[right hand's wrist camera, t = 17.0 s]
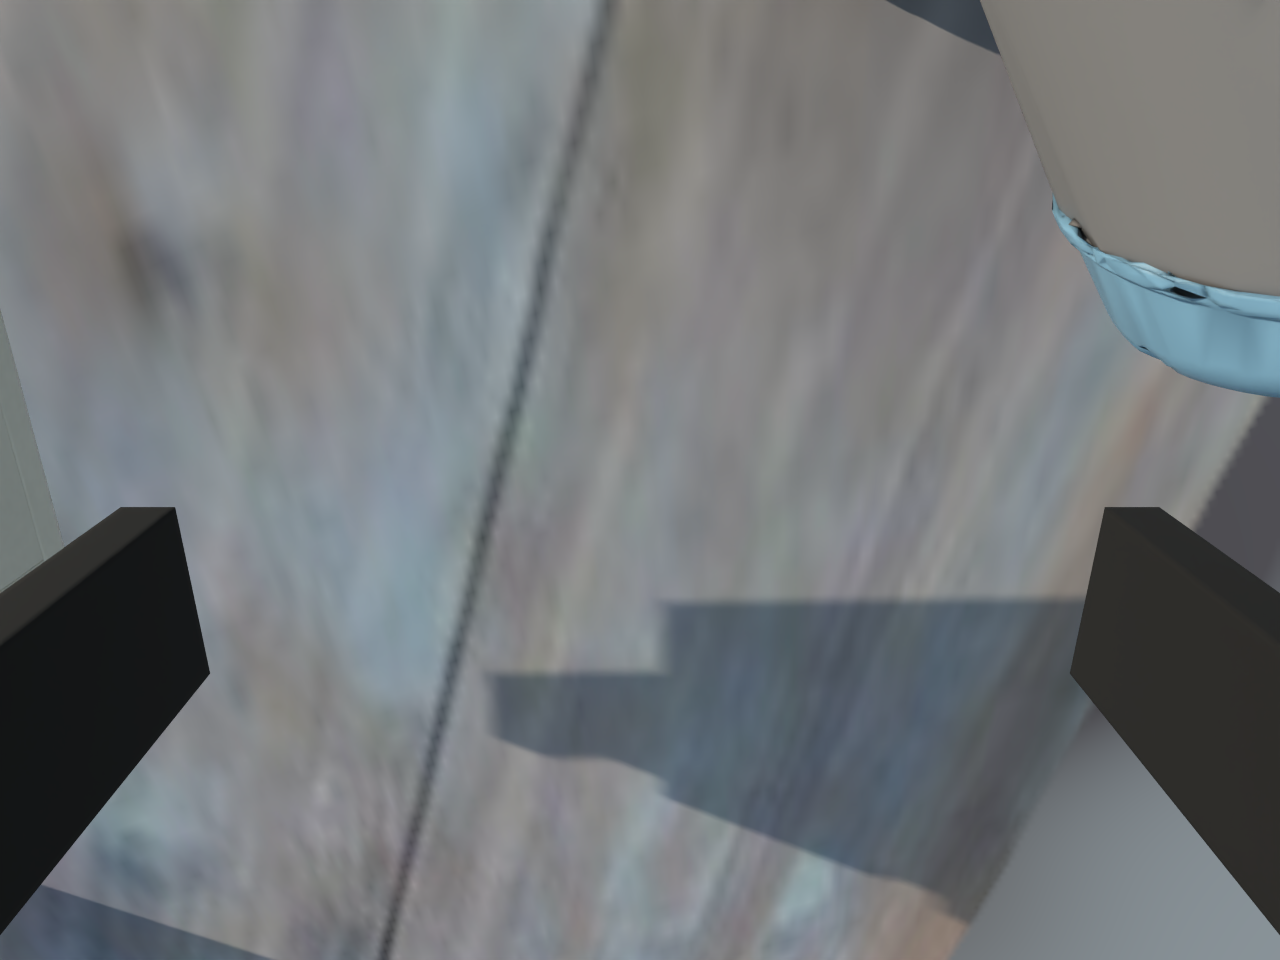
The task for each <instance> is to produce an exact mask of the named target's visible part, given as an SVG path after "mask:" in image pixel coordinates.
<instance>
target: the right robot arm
mask: <svg viewBox="0 0 1280 960" xmlns="http://www.w3.org/2000/svg"><path fill="white" fill-rule="evenodd" d="M980 2H981V4H982V7H983V10H984V12H985V15H986V18H987V20H988V23H989V25H990V28H991V31H992V33H993V36H994V39H995V41H996V44H997V47H998V49H999V52H1000V55H1001V57H1002V60H1003V62H1004V65H1005V68H1006V70H1007V73H1008V76H1009V78H1010V81H1011V84H1012V86H1013V89H1014V92H1015V94H1016V97H1017V99H1018V102H1019V105H1020V107H1021V110H1022V113H1023V115H1024V118H1025V121H1026V123H1027V126H1028V129H1029V131H1030V134H1031V137H1032V139H1033V142H1034V144H1035V147H1036V150H1037V152H1038V155H1039V158H1040V160H1041V163H1042V166H1043V168H1044V171H1045V174H1046V176H1047V179H1048V181H1049V184H1050V187H1051V189H1052V193H1053V203H1052V211H1053V214H1054V217H1055V219H1056V222H1057V224H1058V226H1059V228H1060V230H1061V231H1062V233H1063V234H1064V235H1065V237H1066V238H1067V239H1068V241H1069V242H1070V243H1071V244H1072V245H1073V246H1074V247H1075V248H1077V249H1078V250H1079V251H1080V253H1081V255H1082V257H1083V259H1084V262H1085V264H1086V266H1087V268H1088V270H1089V273H1090V275H1091V277H1092V279H1093V281H1094V284H1095V286H1096V288H1097V290H1098V292H1099V295H1100V297H1101V299H1102V301H1103V303H1104V306H1105V308H1106V310H1107V312H1108V314H1109V316H1110V318H1111V319H1112V321H1113V323H1114V324H1115V326H1116V327H1117V328H1118V329H1119V331H1120V332H1121V333H1122V334H1123V336H1124V337H1125V338H1126V339H1127V340H1128V341H1129V342H1130V343H1131V344H1132V345H1133V346H1134V347H1136V348H1137V349H1138V350H1139V351H1141V352H1143V353H1146V354H1148V355H1150V356H1152V357H1154V358H1157V359H1160V360H1161V361H1162V362H1163V363H1165V364H1166V365H1167V366H1169V367H1171V368H1173V369H1174V370H1175V371H1176V372H1177V373H1180V374H1182V375H1184V376H1187V377H1189V378H1191V379H1195V380H1198V381H1201V382H1204V383H1207V384H1210V385H1214V386H1218V387H1222V388H1226V389H1231V390H1235V391H1240V392H1244V393H1250V394H1256V395H1262V396H1270V397H1278V398H1280V0H980ZM209 674H210V671H209V666H208V661H207V657H206V652H205V647H204V642H203V638H202V633H201V628H200V623H199V619H198V614H197V609H196V604H195V600H194V595H193V590H192V585H191V581H190V576H189V571H188V566H187V562H186V557H185V552H184V547H183V543H182V538H181V533H180V528H179V524H178V519H177V514H176V509H175V507H120V508H119V509H118V510H116V511H115V512H113V513H112V514H111V515H109V516H108V517H106V518H105V519H104V520H102V521H101V522H99V523H98V524H97V525H95V526H94V527H92V528H91V529H90V530H88V531H87V532H85V533H84V534H83V535H81V536H80V537H78V538H77V539H76V540H74V541H73V542H71V543H70V544H69V545H67V546H66V547H64V548H63V549H62V550H60V551H59V552H57V553H56V554H54V555H53V556H52V557H50V558H49V559H47V560H46V561H45V562H43V563H42V564H40V565H39V566H38V567H36V568H35V569H33V570H32V571H31V572H29V573H28V574H26V575H25V576H24V577H22V578H21V579H19V580H18V581H17V582H15V583H14V584H12V585H11V586H10V587H8V588H7V589H5V590H4V591H3V592H1V593H0V935H1V933H2V932H3V931H4V930H5V928H6V927H7V926H8V925H9V923H10V922H11V921H12V920H13V918H14V917H15V916H16V915H17V913H18V912H19V911H20V910H21V908H22V907H23V906H24V905H25V903H26V902H27V901H28V900H29V898H30V897H31V896H32V895H33V893H34V892H35V891H36V890H37V889H38V887H39V886H40V885H41V884H42V882H43V881H44V880H45V879H46V877H47V876H48V875H49V874H50V872H51V871H52V870H53V869H54V867H55V866H56V865H57V864H58V862H59V861H60V860H61V859H62V857H63V856H64V855H65V854H66V852H67V851H68V850H69V849H70V847H71V846H72V845H73V844H74V842H75V841H76V840H77V839H78V837H79V836H80V835H81V834H82V832H83V831H84V830H85V829H86V827H87V826H88V825H89V824H90V822H91V821H92V820H93V819H94V817H95V816H96V815H97V814H98V812H99V811H100V810H101V809H102V807H103V806H104V805H105V804H106V802H107V801H108V800H109V799H110V798H111V796H112V795H113V794H114V793H115V791H116V790H117V789H118V788H119V786H120V785H121V784H122V783H123V781H124V780H125V779H126V778H127V776H128V775H129V774H130V773H131V771H132V770H133V769H134V768H135V766H136V765H137V764H138V763H139V761H140V760H141V759H142V758H143V756H144V755H145V754H146V753H147V751H148V750H149V749H150V748H151V746H152V745H153V744H154V743H155V741H156V740H157V739H158V738H159V736H160V735H161V734H162V733H163V731H164V730H165V729H166V728H167V726H168V725H169V724H170V723H171V721H172V720H173V719H174V718H175V716H176V715H177V714H178V713H179V712H180V710H181V709H182V708H183V707H184V705H185V704H186V703H187V702H188V700H189V699H190V698H191V697H192V695H193V694H194V693H195V692H196V690H197V689H198V688H199V687H200V685H201V684H202V683H203V682H204V680H205V679H206V678H207V677H208V675H209ZM1070 674H1071V675H1072V677H1073V678H1074V679H1075V680H1076V682H1077V683H1078V684H1079V685H1080V687H1081V688H1082V689H1083V690H1084V692H1085V693H1086V694H1087V695H1088V697H1089V698H1090V699H1091V700H1092V702H1093V703H1094V704H1095V705H1096V707H1097V708H1098V709H1099V710H1100V711H1101V713H1102V714H1103V715H1104V716H1105V718H1106V719H1107V720H1108V721H1109V723H1110V724H1111V725H1112V726H1113V728H1114V729H1115V730H1116V731H1117V733H1118V734H1119V735H1120V736H1121V738H1122V739H1123V740H1124V741H1125V743H1126V744H1127V745H1128V746H1129V748H1130V749H1131V750H1132V751H1133V753H1134V754H1135V755H1136V756H1137V758H1138V759H1139V760H1140V761H1141V763H1142V764H1143V765H1144V766H1145V768H1146V769H1147V770H1148V771H1149V773H1150V774H1151V775H1152V776H1153V778H1154V779H1155V780H1156V781H1157V783H1158V784H1159V785H1160V786H1161V787H1162V789H1163V790H1164V791H1165V793H1166V794H1167V795H1168V796H1169V797H1170V799H1171V800H1172V801H1173V802H1174V804H1175V805H1176V806H1177V807H1178V809H1179V810H1180V811H1181V812H1182V814H1183V815H1184V816H1185V817H1186V819H1187V820H1188V821H1189V822H1190V824H1191V825H1192V826H1193V827H1194V829H1195V830H1196V831H1197V832H1198V834H1199V835H1200V836H1201V837H1202V839H1203V840H1204V841H1205V842H1206V844H1207V845H1208V846H1209V847H1210V849H1211V850H1212V851H1213V852H1214V854H1215V855H1216V856H1217V857H1218V859H1219V860H1220V861H1221V862H1222V863H1223V865H1224V866H1225V867H1226V869H1227V870H1228V871H1229V872H1230V874H1231V875H1232V876H1233V877H1234V878H1235V880H1236V881H1237V882H1238V884H1239V885H1240V886H1241V887H1242V888H1243V890H1244V891H1245V892H1246V893H1247V895H1248V896H1249V897H1250V898H1251V900H1252V901H1253V902H1254V903H1255V905H1256V906H1257V907H1258V908H1259V910H1260V911H1261V912H1262V913H1263V915H1264V916H1265V917H1266V918H1267V920H1268V921H1269V922H1270V923H1271V925H1272V926H1273V927H1274V928H1275V930H1276V931H1277V932H1278V933H1279V935H1280V593H1279V592H1277V591H1276V590H1275V589H1273V588H1272V587H1270V586H1269V585H1267V584H1266V583H1265V582H1263V581H1262V580H1261V579H1259V578H1258V577H1256V576H1255V575H1254V574H1252V573H1251V572H1249V571H1248V570H1247V569H1245V568H1244V567H1242V566H1241V565H1240V564H1238V563H1237V562H1235V561H1234V560H1233V559H1231V558H1230V557H1228V556H1227V555H1225V554H1224V553H1223V552H1221V551H1220V550H1218V549H1217V548H1216V547H1214V546H1213V545H1211V544H1210V543H1209V542H1207V541H1206V540H1204V539H1203V538H1202V537H1200V536H1199V535H1197V534H1196V533H1195V532H1193V531H1192V530H1190V529H1189V528H1188V527H1186V526H1185V525H1183V524H1182V523H1181V522H1179V521H1178V520H1176V519H1175V518H1174V517H1172V516H1171V515H1169V514H1168V513H1167V512H1165V511H1164V510H1162V509H1161V508H1160V507H1105V509H1104V514H1103V519H1102V524H1101V528H1100V533H1099V538H1098V543H1097V547H1096V552H1095V557H1094V562H1093V566H1092V571H1091V576H1090V581H1089V585H1088V590H1087V595H1086V600H1085V604H1084V609H1083V614H1082V619H1081V623H1080V628H1079V633H1078V638H1077V642H1076V647H1075V652H1074V657H1073V661H1072V666H1071V671H1070Z"/></svg>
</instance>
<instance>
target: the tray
mask: <svg viewBox="0 0 1280 960" xmlns="http://www.w3.org/2000/svg"><path fill="white" fill-rule="evenodd" d="M63 548H64V544H63V540H62V537H61V533H60V529H59V526H58V522H57V518H56V514H55V511H54V507H53V503H52V500H51V496H50V492H49V488H48V485H47V481H46V477H45V474H44V470H43V466H42V462H41V459H40V455H39V451H38V448H37V444H36V440H35V436H34V433H33V429H32V425H31V422H30V418H29V414H28V410H27V407H26V403H25V399H24V396H23V392H22V388H21V384H20V381H19V377H18V373H17V370H16V366H15V362H14V358H13V355H12V351H11V347H10V344H9V340H8V336H7V332H6V329H5V325H4V321H3V318H2V314H1V310H0V593H1V592H3V591H4V590H5V589H7V588H8V587H10V586H11V585H12V584H14V583H15V582H17V581H18V580H19V579H21V578H22V577H24V576H25V575H26V574H28V573H29V572H31V571H32V570H33V569H35V568H36V567H38V566H39V565H40V564H42V563H43V562H45V561H46V560H47V559H49V558H50V557H52V556H53V555H54V554H56V553H57V552H59V551H60V550H62V549H63Z"/></svg>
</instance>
